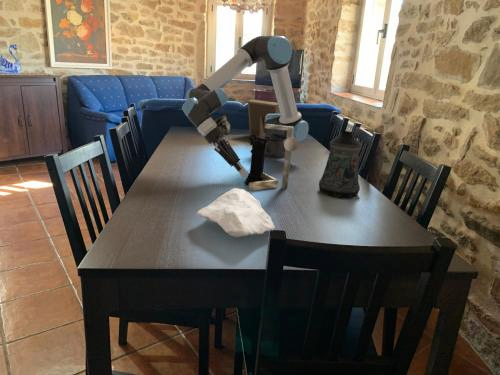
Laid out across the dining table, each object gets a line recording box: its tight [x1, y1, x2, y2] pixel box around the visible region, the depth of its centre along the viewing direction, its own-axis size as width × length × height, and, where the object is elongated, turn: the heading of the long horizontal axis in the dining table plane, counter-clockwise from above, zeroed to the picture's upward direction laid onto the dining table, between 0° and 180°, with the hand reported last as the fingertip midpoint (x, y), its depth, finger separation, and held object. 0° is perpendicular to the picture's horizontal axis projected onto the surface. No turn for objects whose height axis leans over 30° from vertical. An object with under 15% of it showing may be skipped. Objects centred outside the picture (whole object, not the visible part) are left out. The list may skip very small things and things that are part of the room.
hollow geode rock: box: [213, 114, 231, 137], centre depth 254 cm, size 28×13×15 cm
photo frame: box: [247, 98, 280, 139], centre depth 246 cm, size 15×22×25 cm
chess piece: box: [244, 134, 270, 186], centre depth 153 cm, size 8×8×20 cm
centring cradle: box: [248, 124, 299, 192], centre depth 152 cm, size 19×17×26 cm
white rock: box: [196, 187, 276, 238], centre depth 114 cm, size 24×35×9 cm
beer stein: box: [318, 130, 362, 200], centre depth 150 cm, size 16×19×25 cm
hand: (245, 175), depth 155 cm, fingers closed
